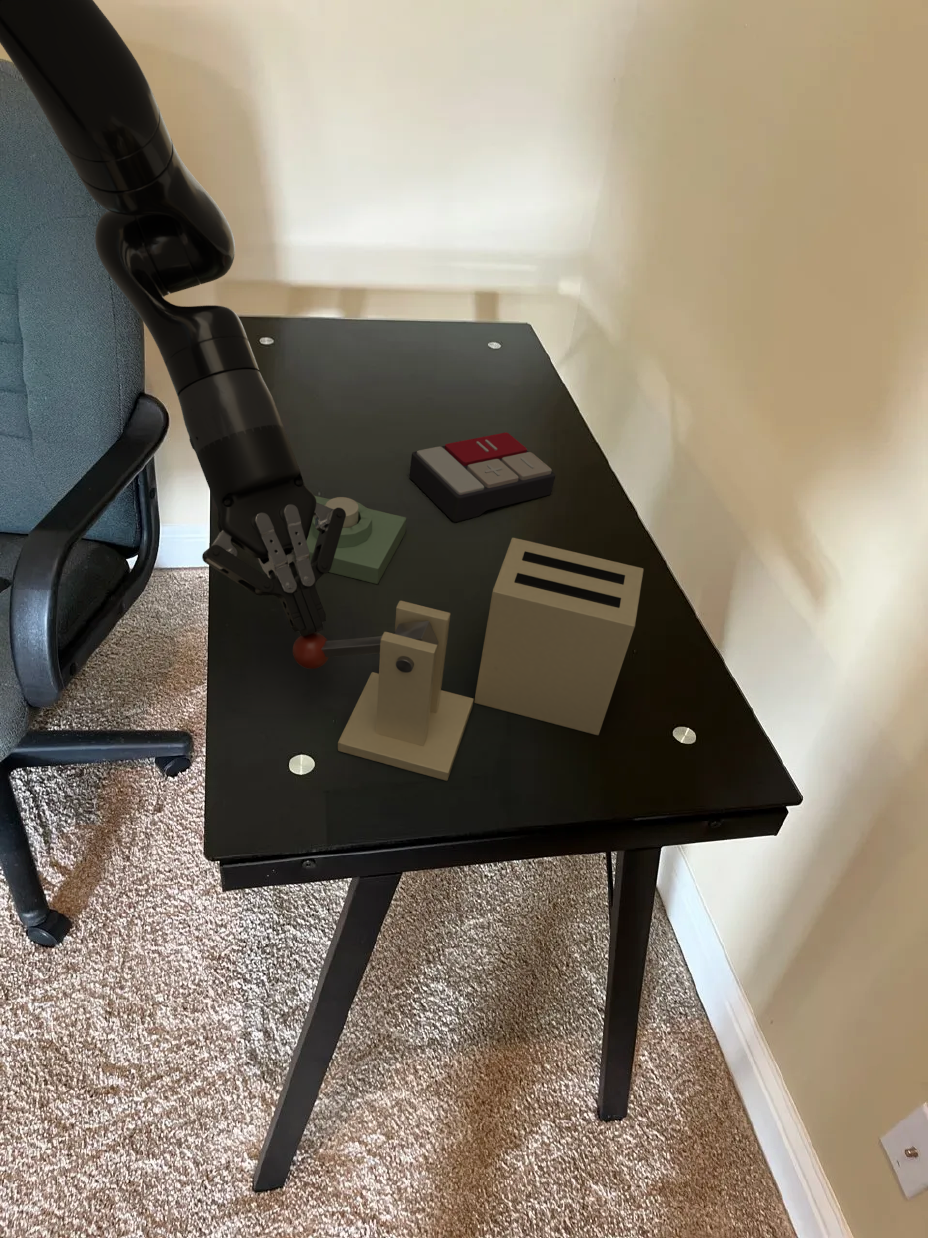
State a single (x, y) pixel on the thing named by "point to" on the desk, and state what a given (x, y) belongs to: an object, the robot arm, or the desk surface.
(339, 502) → the button
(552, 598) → the toaster
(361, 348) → the desk surface
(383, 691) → the lever bracket
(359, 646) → the red-knobbed metal lever
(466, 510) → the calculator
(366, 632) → the desk surface
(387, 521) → the switch block
